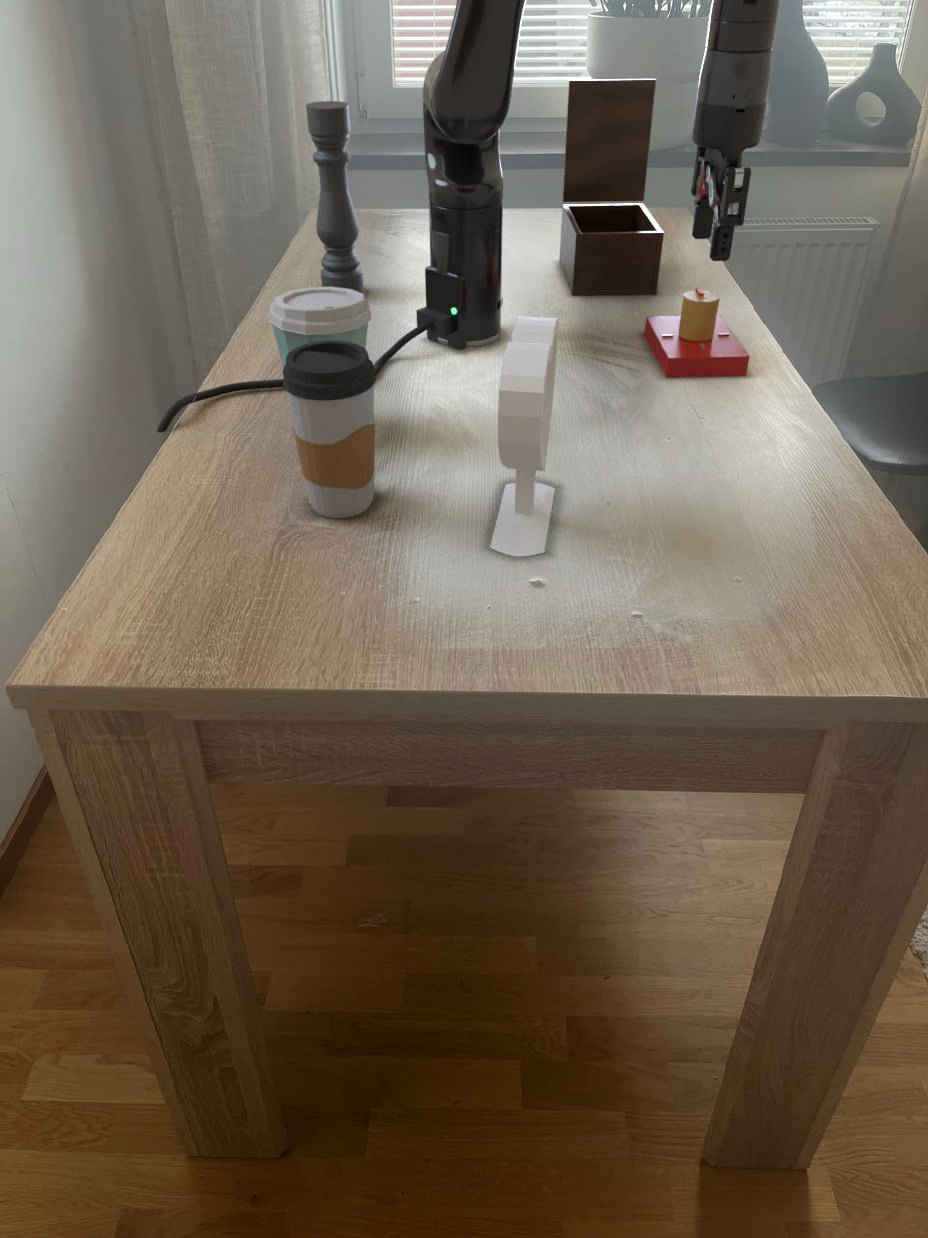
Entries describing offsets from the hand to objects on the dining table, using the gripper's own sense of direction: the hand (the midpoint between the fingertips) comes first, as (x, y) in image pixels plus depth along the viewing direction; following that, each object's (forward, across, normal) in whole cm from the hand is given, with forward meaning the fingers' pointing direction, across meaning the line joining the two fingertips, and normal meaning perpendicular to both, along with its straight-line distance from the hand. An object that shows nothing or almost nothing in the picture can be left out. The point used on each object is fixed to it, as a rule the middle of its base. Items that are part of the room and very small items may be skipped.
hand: (709, 248), depth 111 cm
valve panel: (+13, 0, 0) cm, 13 cm away
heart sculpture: (+13, +38, -26) cm, 48 cm away
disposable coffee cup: (+13, +18, -46) cm, 51 cm away
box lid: (-4, -38, -6) cm, 39 cm away
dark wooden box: (+13, -30, -6) cm, 34 cm away
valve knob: (+11, 0, 0) cm, 11 cm away
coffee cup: (+13, +35, -44) cm, 57 cm away
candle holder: (+13, -26, -47) cm, 55 cm away
